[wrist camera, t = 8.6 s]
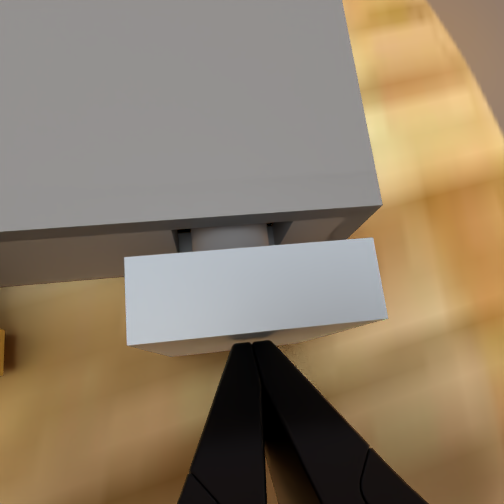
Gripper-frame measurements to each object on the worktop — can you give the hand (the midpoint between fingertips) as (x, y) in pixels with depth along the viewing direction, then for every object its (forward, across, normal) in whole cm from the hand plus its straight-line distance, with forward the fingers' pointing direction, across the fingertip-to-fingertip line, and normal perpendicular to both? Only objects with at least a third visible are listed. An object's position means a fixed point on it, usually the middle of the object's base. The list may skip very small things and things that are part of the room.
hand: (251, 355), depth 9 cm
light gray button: (+8, 0, 0) cm, 8 cm away
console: (+10, +5, -1) cm, 12 cm away
